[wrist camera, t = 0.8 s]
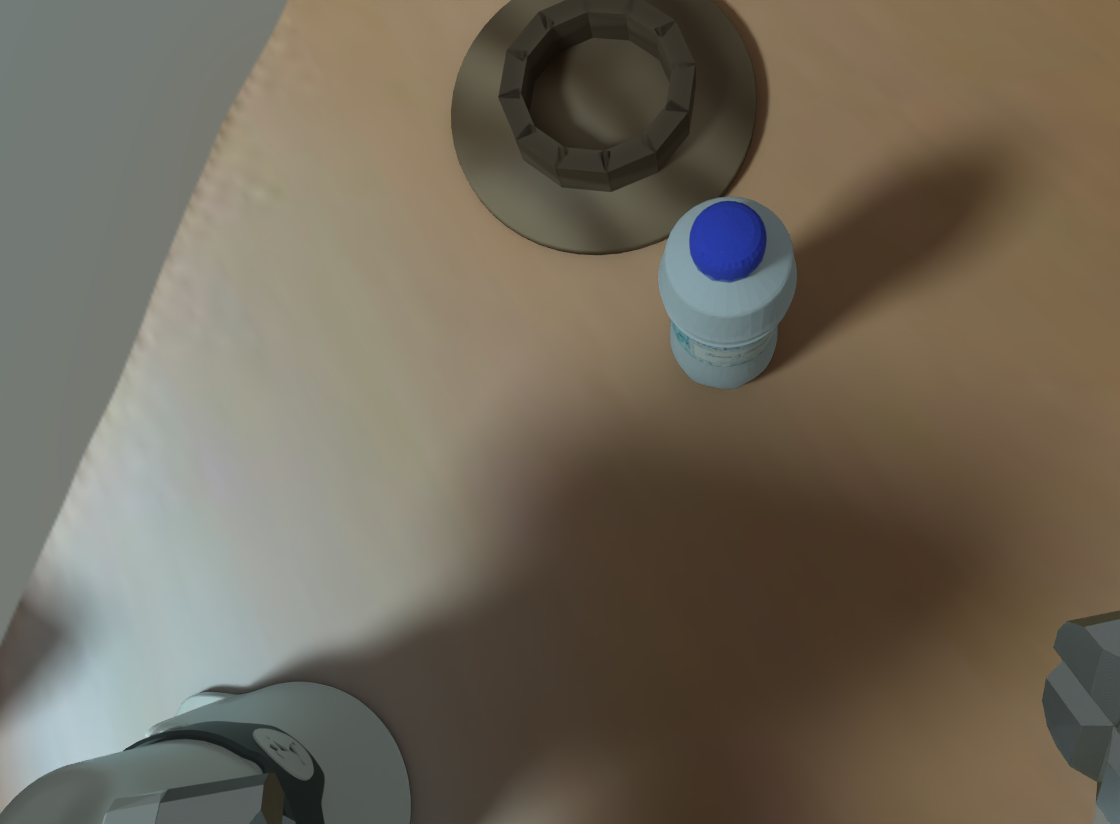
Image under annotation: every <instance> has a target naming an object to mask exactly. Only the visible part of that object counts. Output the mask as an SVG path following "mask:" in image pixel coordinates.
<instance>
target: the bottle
mask: <svg viewBox="0 0 1120 824" xmlns="http://www.w3.org/2000/svg"><path fill="white" fill-rule="evenodd" d="M658 281H659V290H660V294H661V298H662V300H663V303H664V306H665V309H666V311H667V313H668V315H669V317H670V318H671V328H670V339H671V347H672V351H673V354H674V356H675V358H676V360H677V362H678V364H679V366H680V367H681V368H682V369H683V370H684V372H685V373H686V374H687V375H688V376H689V377H690V378H691V379H692V380H693V381H695V382H697V383H699V384H702V385H706V386H710V387H714V388H722V389H733V388H738V387H740V386H742V385H743V384H745V383H747V382H749V381H751V380H752V379H754V378H755V377H756V376H758V375H759V374H760V373H762V372H763V371H764V370H765V368H766V367H767V366H768V364H769V362H770V360H771V358H772V356H773V354H774V350H775V347H776V342H777V330H778V324H779V323H780V321H781V320H782V319H783V317H784V316H785V314H786V312H787V310H788V308H789V306H790V304H791V302H792V299H793V297H794V293H795V290H796V285H797V268H796V262H795V259H794V252H793V246H792V242H791V239H790V235H789V233H788V231H787V229H786V228H785V226H784V224H783V223H782V221H781V220H780V219H779V218H778V217H777V216H776V215H775V214H774V213H773V212H772V211H771V210H770V209H768V208H767V207H765V206H763V205H761V204H759V203H758V202H756V201H753V200H749V199H745V198H741V197H719V198H715V199H711V200H707V201H705V202H703V203H700V204H698V205H697V206H695V207H693V208H692V209H691V210H689V211H688V212H687V213H685V214H684V215H683V216H682V217H681V218H680V219H679V220H678V222H677V223H676V225H675V226H674V228H673V229H672V231H671V233H670V235H669V238H668V240H667V243H666V247H665V251H664V253H663V256H662V259H661V263H660V266H659V275H658Z"/></svg>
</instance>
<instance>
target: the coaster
mask: <svg viewBox="0 0 1120 824" xmlns="http://www.w3.org/2000/svg"><path fill="white" fill-rule="evenodd" d="M756 98H757V96H756V84H755V76H754V71H753V67H752V63H751V59H750V56H749V54H748V51H747V49H746V46H745V44H744V42H743V40H742V38H741V36H740V35H739V33H738V31H737V29H736V28H735V26H734V25H733V23H732V22H731V21H730V20H729V18H728V17H727V16H726V14H725V13H724V12H723V11H722V10H721V9H720V8H719V7H718V6H717V5H716V4H715V3H714V2H713V1H712V0H511V1H510V2H509V3H507V4H506V5H505V6H504V7H503V8H501V9H500V10H499V11H498V12H497V13H496V14H495V15H494V16H493V17H492V18H491V19H490V21H489V22H488V23H487V24H486V25H485V26H484V27H483V29H482V30H481V32H480V33H479V34H478V36H477V37H476V38H475V40H474V41H473V43H472V45H471V47H470V48H469V50H468V52H467V54H466V56H465V58H464V60H463V63H462V65H461V68H460V70H459V73H458V76H457V79H456V83H455V87H454V91H453V99H452V107H451V129H452V135H453V141H454V147H455V150H456V153H457V157H458V160H459V163H460V165H461V167H462V170H463V172H464V174H465V176H466V178H467V180H468V182H469V184H470V185H471V187H472V189H473V190H474V192H475V193H476V195H477V196H478V198H479V199H480V201H481V202H482V203H483V204H484V205H485V206H486V208H487V209H488V210H489V211H490V212H491V213H492V214H493V215H494V216H495V217H496V218H497V219H498V220H500V221H501V222H502V223H503V224H504V225H505V226H507V227H508V228H510V229H511V230H513V231H514V232H516V233H517V234H519V235H521V236H522V237H524V238H526V239H528V240H531V241H533V242H535V243H537V244H539V245H542V246H545V247H548V248H551V249H555V250H558V251H563V252H569V253H575V254H585V255H606V254H618V253H623V252H628V251H633V250H638V249H641V248H644V247H647V246H650V245H653V244H656V243H659V242H661V241H663V240H665V239H667V238H669V235H670V233H671V231H672V229H673V228H674V226H675V225H676V223H677V222H678V220H679V219H680V218H681V217H682V216H683V215H684V214H685V213H687V212H688V211H689V210H691V209H692V208H693V207H695V206H697V205H698V204H700V203H703V202H705V201H707V200H711V199H715V198H719V197H721V196H722V195H723V194H724V193H725V192H726V190H727V189H728V187H729V186H730V184H731V183H732V182H733V180H734V179H735V177H736V175H737V173H738V171H739V169H740V167H741V166H742V164H743V162H744V160H745V157H746V154H747V151H748V148H749V146H750V143H751V139H752V134H753V129H754V124H755V114H756Z"/></svg>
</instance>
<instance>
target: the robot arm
mask: <svg viewBox="0 0 1120 824" xmlns="http://www.w3.org/2000/svg"><path fill="white" fill-rule="evenodd" d="M1053 648H1054V649H1055V650H1056V652H1057V653H1058V654H1059V656H1060V657H1061V658H1062V660H1063V661H1062V662H1061V663H1060V664H1059V665H1058V666H1057V667H1056V668H1055V669H1054V670H1053V671H1052V672H1051V673H1050V674H1049V675H1048V676H1047V677H1046V682H1045V688H1044V693H1043V699H1042V702H1043V707H1044V712H1045V717H1046V723H1047V727H1048V729H1049V731H1050V733H1051V735H1052V738H1053V740H1054V742H1055V744H1056V746H1057V748H1058V749H1059V751H1060V752H1061V754H1062V755H1063V757H1064V758H1065V760H1066V761H1067V763H1068V764H1069V766H1070V767H1072V768H1074V769H1075V770H1077V771H1079V772H1081V773H1082V774H1084V775H1086V776H1088V777H1089V778H1091V779H1093V780H1095V781H1096V782H1097V793H1096V805H1097V806H1098V807H1099V809H1100V810H1101V812H1102V813H1103V814H1104V816H1105V817H1106V819H1107V820H1108V822H1109V823H1110V824H1120V611H1115V612H1110V613H1105V614H1100V615H1095V616H1090V617H1085V618H1080V619H1075V620H1070V621H1067V622H1066V623H1065V624H1064V625H1063V626H1062V627H1061V628H1060V629H1059V630H1058V632H1057V636H1056V640H1055V644H1054V647H1053ZM410 816H411V796H410V786H409V780H408V775H407V771H406V767H405V764H404V761H403V758H402V755H401V753H400V751H399V748H398V746H397V744H396V742H395V741H394V739H393V737H392V735H391V734H390V732H389V731H388V729H387V728H386V727H385V725H384V724H383V723H382V721H381V720H380V719H379V718H378V717H377V716H376V715H375V714H374V713H373V712H372V711H371V710H370V709H369V708H368V707H367V706H365V705H364V704H363V703H362V702H360V701H359V700H357V699H356V698H354V697H353V696H351V695H349V694H347V693H345V692H343V691H341V690H339V689H336V688H333V687H330V686H327V685H323V684H319V683H312V682H286V683H280V684H275V685H271V686H268V687H265V688H262V689H259V690H256V691H253V692H249V693H245V694H240V695H235V694H228V693H220V692H202V693H198V694H195V695H193V696H190V697H189V698H187V699H186V700H185V701H184V702H183V703H182V704H181V706H180V707H179V709H178V711H177V713H176V715H175V716H174V717H173V718H170V719H168V720H165V721H163V722H160V723H158V724H156V725H154V726H153V727H151V728H150V729H149V730H148V731H147V733H146V738H145V739H143V740H141V741H138V742H136V743H135V744H133V745H131V746H130V747H128V748H126V749H125V750H123V751H122V752H118V753H114V754H110V755H106V756H102V757H98V758H94V759H90V760H86V761H82V762H78V763H74V764H70V765H66V766H63V767H61V768H58V769H56V770H54V771H52V772H49V773H47V774H46V775H44V776H42V777H40V778H38V779H37V780H35V781H34V782H33V783H31V784H30V785H28V786H27V787H26V788H25V789H24V790H23V791H21V792H20V793H19V794H18V795H17V796H16V797H15V798H14V799H13V800H12V801H11V802H10V803H9V804H8V805H7V806H6V808H5V809H4V810H3V811H2V812H1V813H0V824H410Z"/></svg>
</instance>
